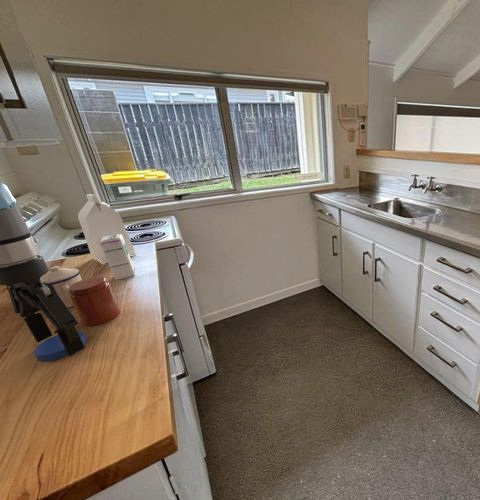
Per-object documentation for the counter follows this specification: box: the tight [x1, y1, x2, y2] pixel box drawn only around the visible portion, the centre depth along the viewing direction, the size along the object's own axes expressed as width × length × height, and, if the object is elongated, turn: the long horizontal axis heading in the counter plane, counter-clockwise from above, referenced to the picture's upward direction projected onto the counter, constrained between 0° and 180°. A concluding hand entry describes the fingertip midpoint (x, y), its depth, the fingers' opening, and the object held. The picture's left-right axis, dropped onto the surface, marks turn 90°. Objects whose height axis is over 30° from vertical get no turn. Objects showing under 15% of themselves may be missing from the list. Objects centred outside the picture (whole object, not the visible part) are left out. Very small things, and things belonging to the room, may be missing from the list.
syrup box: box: [99, 234, 136, 281], centre depth 98 cm, size 6×6×14 cm
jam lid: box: [33, 330, 87, 363], centre depth 65 cm, size 8×8×2 cm
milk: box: [77, 193, 137, 265], centre depth 113 cm, size 12×12×26 cm
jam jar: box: [68, 276, 121, 327], centre depth 75 cm, size 8×8×10 cm
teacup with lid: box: [40, 265, 83, 309], centre depth 82 cm, size 12×9×12 cm
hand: (60, 344), depth 65 cm, fingers open, 12 cm apart
